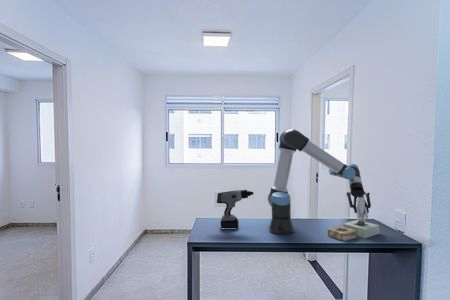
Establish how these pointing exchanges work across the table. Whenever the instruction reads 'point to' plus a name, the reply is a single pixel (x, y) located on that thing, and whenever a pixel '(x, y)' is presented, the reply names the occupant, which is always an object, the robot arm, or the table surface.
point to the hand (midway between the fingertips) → (362, 217)
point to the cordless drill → (231, 206)
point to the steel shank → (361, 211)
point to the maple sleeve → (342, 233)
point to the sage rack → (363, 228)
